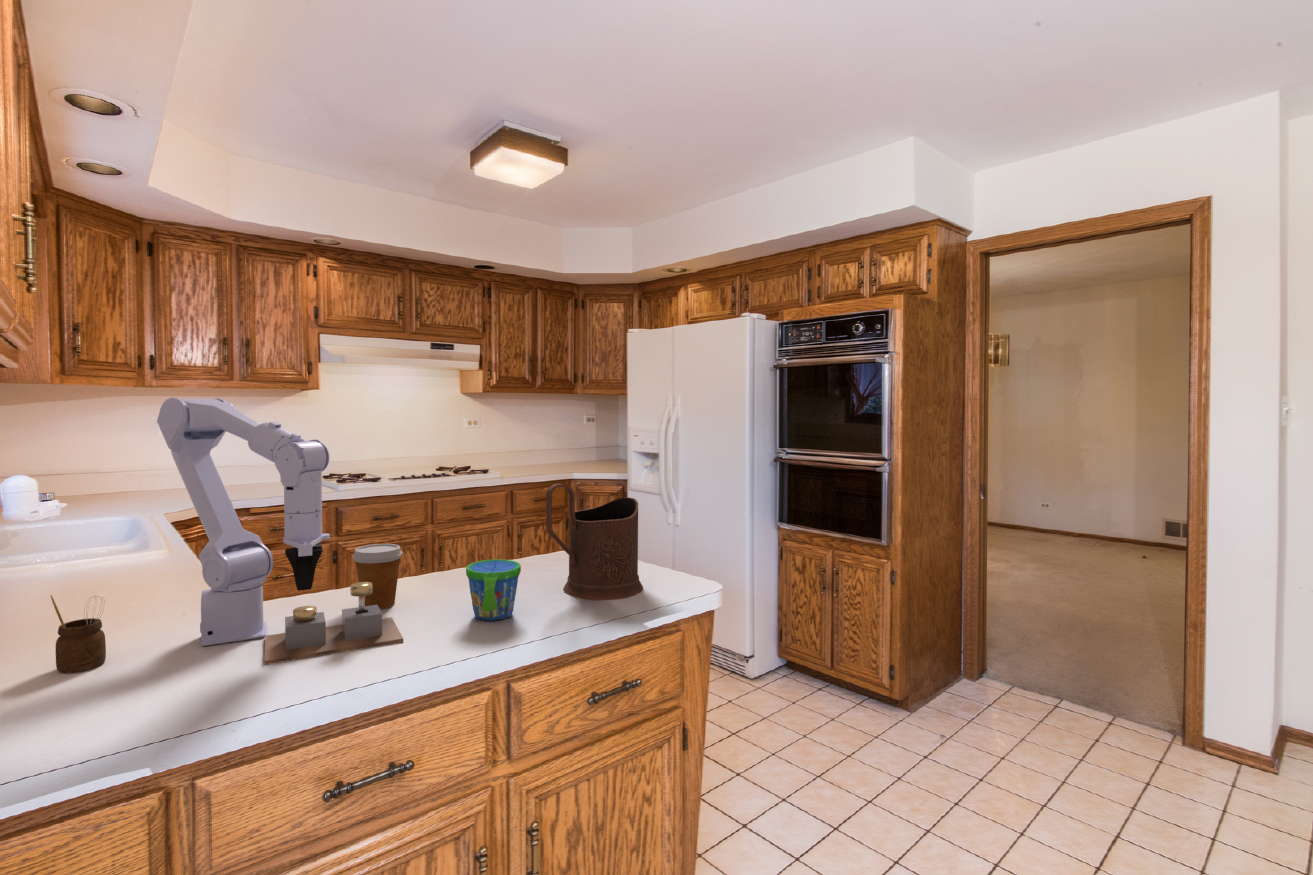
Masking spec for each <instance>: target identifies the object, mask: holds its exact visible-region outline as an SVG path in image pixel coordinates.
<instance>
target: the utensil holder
mask: <svg viewBox="0 0 1313 875" xmlns="http://www.w3.org/2000/svg"><path fill="white" fill-rule="evenodd" d="M98 597H99V598H100V600H101V602H100V603H101V605H100V606H99V608H100V609H99V611H98V614H97V616H96V618H95V615H92V616H91V617H90V618H88V610H89V609H90V605H91V604H90V603H91V602H92V600H93V599H94V600H97V598H98ZM50 599H51V602H52V605H53V607H54V610H55V613H56V615H57V617H58V619H59V623H60V625H59V626H58V629H57V634H58V636H59V637H58V638H57V639H56V640H55V666H56V670H57V672H58V673H61V674H77V673H82V672H87V671H91V670H94V669H96V668H99V667H101V666H102V665H103V664H105V662H106V658H107V649H106V648H107V646H106V644H107V642H106V635H105V632H104V631H103V630H102V628H103V623H102V620H101V619H100V618H101V616H102V615H103V612H104V608H105V607H102V605H105V603H106V600H105V598H104V597H103V596H101V595H93V596H91V597H89V598H88V599H87V601H86V602H85V606H84V607H86V608H87V609H86V608H84V610H83V612H85V611H86V612H85V614H83V616H84V617H83V618H81V619H77V620H71V621H67V622H64V620H63V617H62V615H61V612H60V610H59V607H58V606H57V604H56V602H55V599H54V597H53V595H50ZM103 601H104V603H103ZM97 603H98V601H94V603H93V604H95V605H97ZM86 605H87V606H86ZM95 605H93V607H92V609H94V610H97V609H96V607H97V606H95ZM94 607H95V608H94ZM94 610H92V612H91V614H95V613H96V611H94Z"/></svg>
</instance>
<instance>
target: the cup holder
mask: <svg viewBox="0 0 1313 875" xmlns="http://www.w3.org/2000/svg"><path fill="white" fill-rule="evenodd" d="M558 488H563V489H565V490H566V491H567V492H568V515H569V516H568V544H569V545H568V546H567V545H566V544H565V543H564V542H563V540H561V538H560V537H559V536H558V535H557V534H556V533H555V531H553V528H552V516H553V515H552V508H553V492H554V491H555V490H556V489H558ZM575 497H576V496H575V492H574V489H573V488H572V487H571V486H569V485H566V484H562V483H554V484H552V485H551V486H549V487H548V488H547V489H546V493H545V529H546V532H547V534H549V536H551V538H552V539H553V540H554V541H555V542H556V543H557V544H558V545H559V546H560V547H561V549H563V551H564V552H565V553H566V554H567V555H568V575H567V579H566V580H567V581H566V583H565V584H564V586H563V588H562V591H563V593H565V594H566V595H567V596H570V597H572V598H576V599H582V600H587V601H589V600H590V601H612V600H613V601H614V600H622V599H628V598H632V597H634V596H637V595H639V594H641V593H642V592H643V591H644V586H643V584H642V582H641V581H640V575H639V574H638V573H639V570H638V568H639V565H638V564H639V561H638V560H639V556H638V555H639V502H638V500H637V499H636V498H633V497H627V496H626V497H625V496H623V497H618V498H616V499H613V500H611V501H608V502H606V503H604V504H602V505H599V506H596V507H593V508H592V507H591V508H586V509H580V510H576V509H575V505H576V502H575V500H576V499H575ZM575 510H576V511H575Z"/></svg>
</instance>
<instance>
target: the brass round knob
mask: <svg viewBox="0 0 1313 875" xmlns="http://www.w3.org/2000/svg"><path fill="white" fill-rule="evenodd" d="M349 589H350V593H349V594H350V596H352V597H358V607H359V614H360V613H365V596H366V595H370V594H372V583H371V582H359V583H358V582H355V583H352V584H351V585H350V588H349Z"/></svg>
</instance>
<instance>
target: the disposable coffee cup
mask: <svg viewBox="0 0 1313 875" xmlns="http://www.w3.org/2000/svg"><path fill="white" fill-rule="evenodd" d="M402 555H403V551H402V550H401V547H400V545H398V544H394V543H375V544H367V545H362V546H359V547H356V548H355V549H354V554H353V555H352V558H353V561H354V563H355V570H356V575H357V583H359V582H371V583H372V594H370V595H366V596H365V606H371V605H378V607H379V609H380V610H383V609H387V608H391V607H393V606H394V605H395V604H396V595H397V589H398V588H397V586H398V580H399V579H398V577H399V570H400V562H401V557H402Z"/></svg>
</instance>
